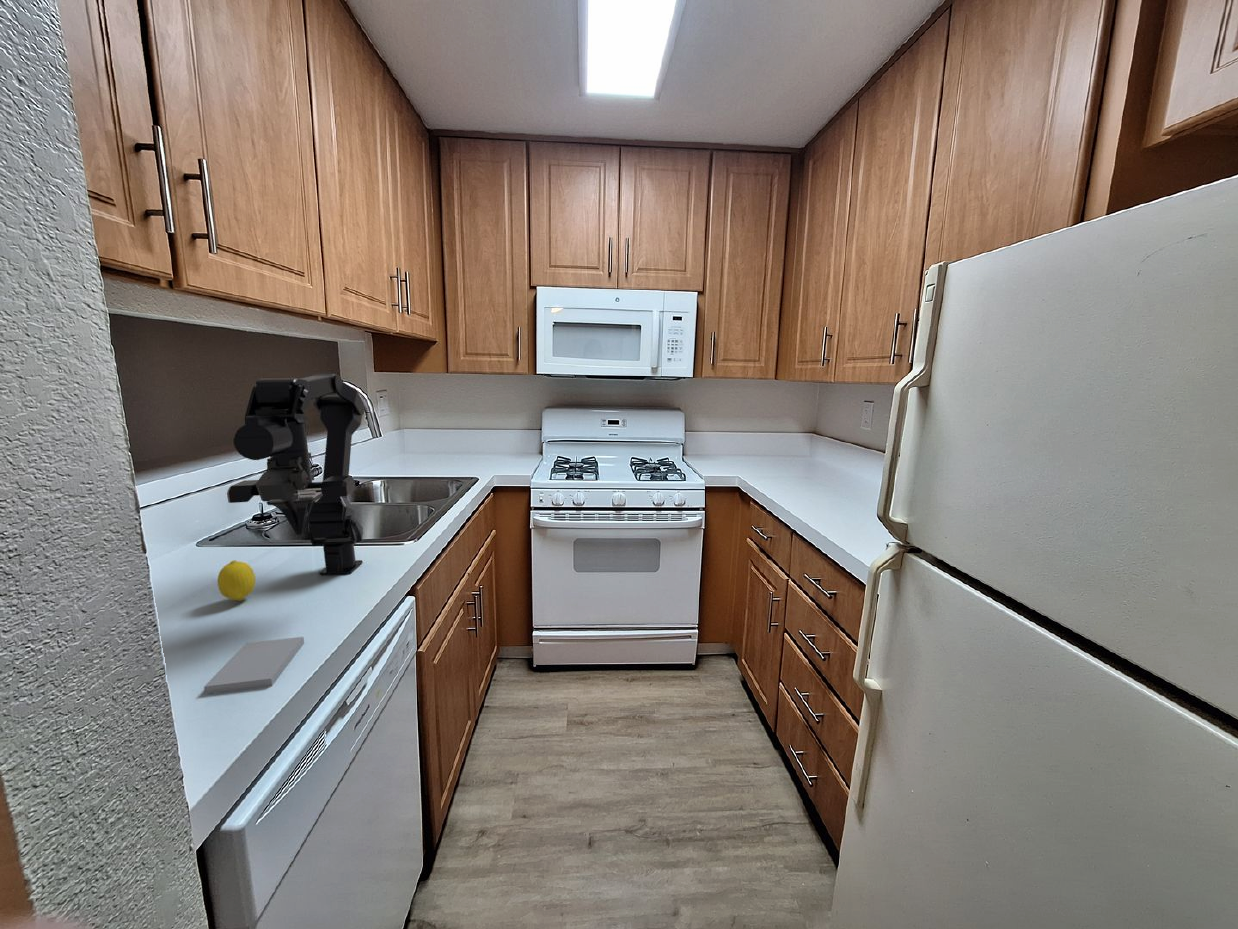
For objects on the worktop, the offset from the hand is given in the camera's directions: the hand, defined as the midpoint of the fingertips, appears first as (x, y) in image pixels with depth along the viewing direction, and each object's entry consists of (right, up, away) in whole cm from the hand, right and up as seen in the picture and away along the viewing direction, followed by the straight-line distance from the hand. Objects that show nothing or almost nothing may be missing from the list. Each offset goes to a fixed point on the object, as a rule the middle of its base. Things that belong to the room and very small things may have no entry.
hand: (300, 534), depth 91 cm
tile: (+4, -15, -13) cm, 20 cm away
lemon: (-13, -13, +3) cm, 19 cm away
